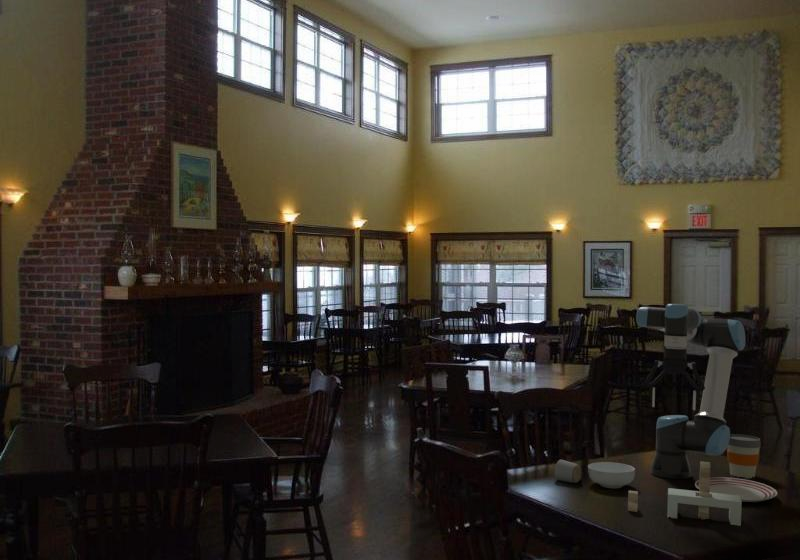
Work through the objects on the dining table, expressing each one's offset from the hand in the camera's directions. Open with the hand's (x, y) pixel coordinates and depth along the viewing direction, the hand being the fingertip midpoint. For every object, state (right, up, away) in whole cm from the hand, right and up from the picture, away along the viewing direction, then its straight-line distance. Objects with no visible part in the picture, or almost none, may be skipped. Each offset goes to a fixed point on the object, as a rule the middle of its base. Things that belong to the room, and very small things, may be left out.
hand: (673, 408), depth 286 cm
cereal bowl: (-18, -31, +15) cm, 39 cm away
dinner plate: (+24, -33, +6) cm, 41 cm away
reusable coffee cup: (+39, -32, +36) cm, 62 cm away
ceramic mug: (-33, -31, +20) cm, 49 cm away
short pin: (-19, -31, -16) cm, 40 cm away
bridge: (+2, -32, -23) cm, 39 cm away
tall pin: (+2, -32, -23) cm, 39 cm away
